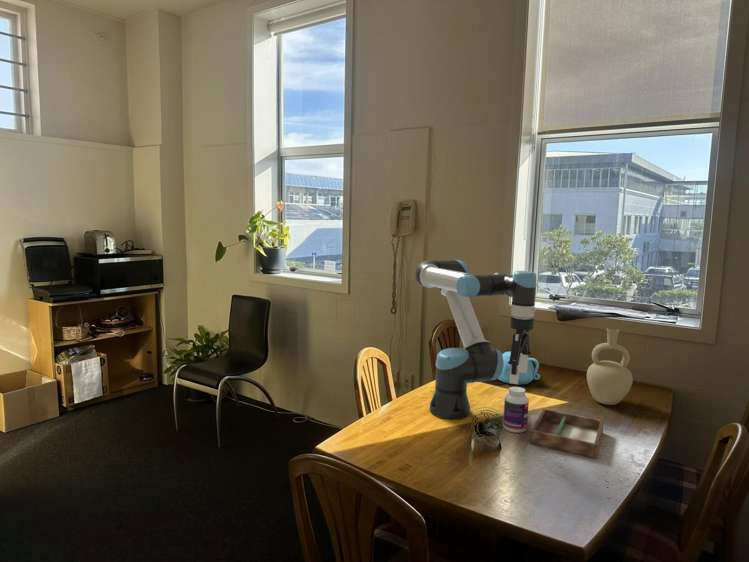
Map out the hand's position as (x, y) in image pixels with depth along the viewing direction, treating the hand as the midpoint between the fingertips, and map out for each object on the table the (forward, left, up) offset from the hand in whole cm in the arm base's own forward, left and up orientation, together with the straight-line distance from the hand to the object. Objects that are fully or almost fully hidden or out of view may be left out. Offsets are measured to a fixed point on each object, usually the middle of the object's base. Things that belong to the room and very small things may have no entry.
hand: (518, 377), depth 174 cm
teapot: (-14, +55, -19) cm, 60 cm away
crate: (+17, +2, -18) cm, 25 cm away
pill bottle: (0, 0, -19) cm, 19 cm away
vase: (+26, +46, -19) cm, 56 cm away
